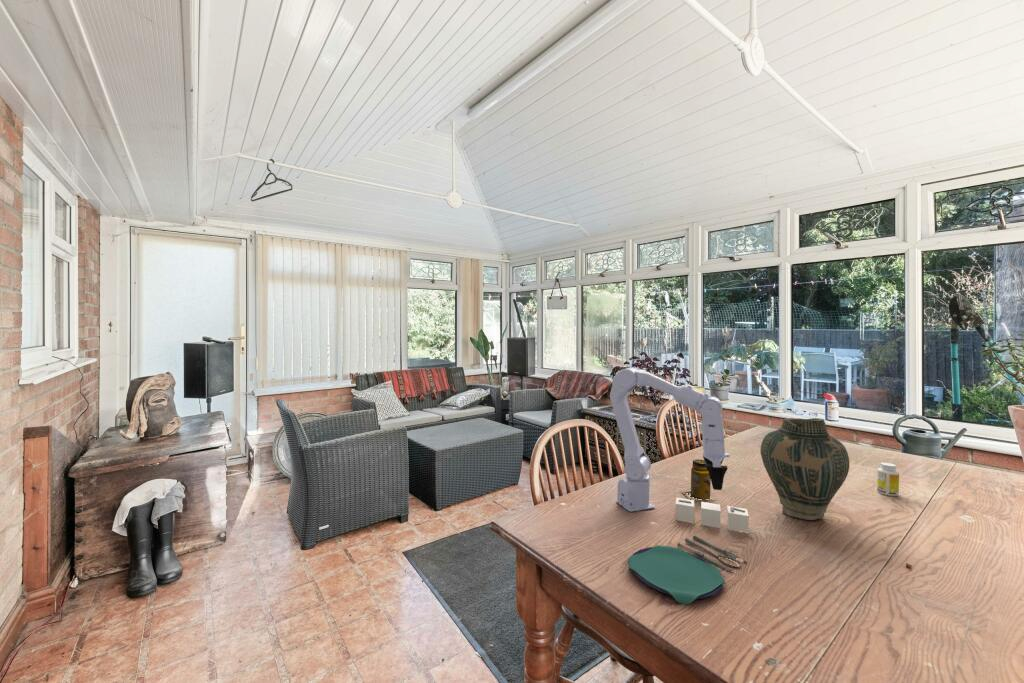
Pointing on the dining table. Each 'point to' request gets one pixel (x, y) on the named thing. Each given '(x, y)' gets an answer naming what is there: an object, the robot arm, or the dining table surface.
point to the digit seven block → (737, 519)
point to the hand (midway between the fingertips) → (716, 484)
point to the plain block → (710, 514)
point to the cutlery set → (680, 570)
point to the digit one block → (684, 510)
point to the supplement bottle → (888, 479)
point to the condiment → (699, 481)
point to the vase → (804, 466)
